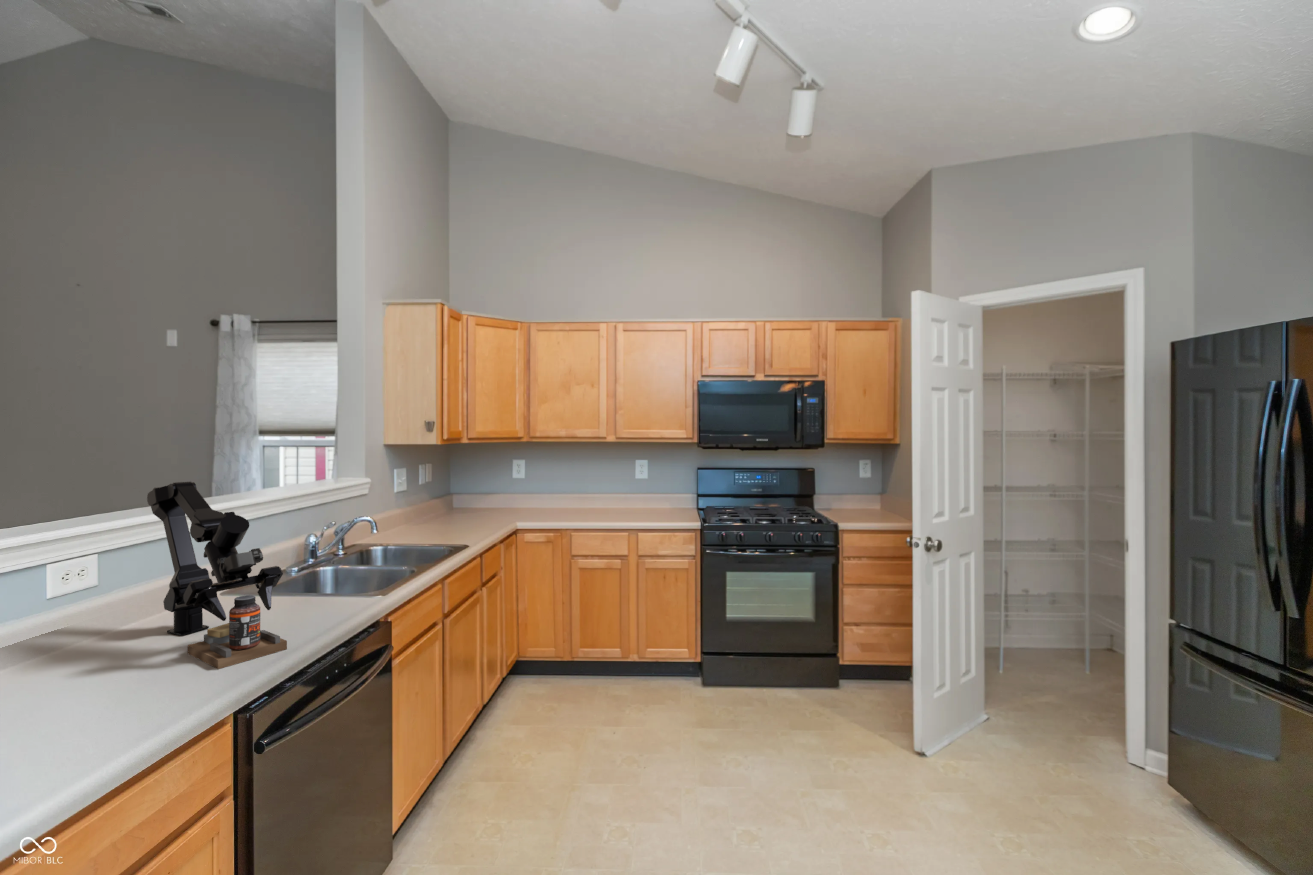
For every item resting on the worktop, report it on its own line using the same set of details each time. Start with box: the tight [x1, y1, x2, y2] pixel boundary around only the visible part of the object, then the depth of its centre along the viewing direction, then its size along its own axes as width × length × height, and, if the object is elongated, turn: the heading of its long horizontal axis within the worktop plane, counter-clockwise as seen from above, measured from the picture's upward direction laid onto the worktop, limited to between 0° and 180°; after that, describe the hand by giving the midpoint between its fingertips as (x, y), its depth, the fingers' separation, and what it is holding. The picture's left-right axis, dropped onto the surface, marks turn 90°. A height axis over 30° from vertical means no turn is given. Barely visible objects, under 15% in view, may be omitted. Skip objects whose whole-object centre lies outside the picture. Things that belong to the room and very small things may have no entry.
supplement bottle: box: [228, 594, 261, 650], centre depth 136 cm, size 6×6×11 cm
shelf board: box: [186, 622, 288, 670], centre depth 139 cm, size 16×14×5 cm
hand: (247, 614), depth 136 cm, fingers open, 9 cm apart
